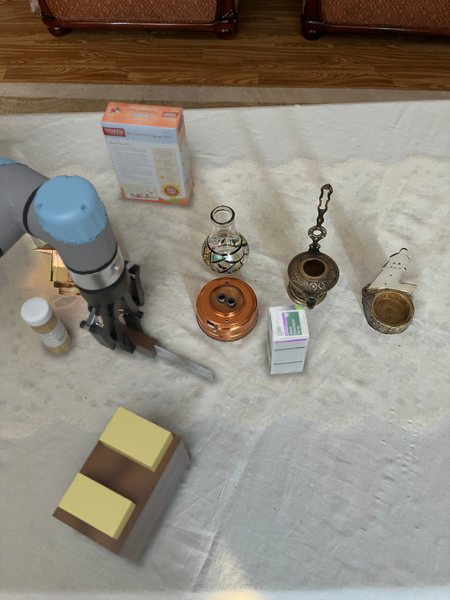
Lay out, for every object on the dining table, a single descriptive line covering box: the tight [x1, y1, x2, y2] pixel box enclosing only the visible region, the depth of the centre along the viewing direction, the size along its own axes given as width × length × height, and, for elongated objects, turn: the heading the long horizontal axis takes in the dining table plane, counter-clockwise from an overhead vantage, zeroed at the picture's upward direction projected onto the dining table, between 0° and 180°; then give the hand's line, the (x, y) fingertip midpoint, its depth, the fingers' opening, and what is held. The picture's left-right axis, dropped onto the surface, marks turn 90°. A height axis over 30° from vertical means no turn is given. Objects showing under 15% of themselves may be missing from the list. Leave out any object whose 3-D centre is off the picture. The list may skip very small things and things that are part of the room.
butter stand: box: [51, 432, 192, 562], centre depth 75 cm, size 10×16×14 cm, turn 153°
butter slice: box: [57, 471, 136, 540], centre depth 66 cm, size 8×4×3 cm, turn 63°
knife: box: [102, 322, 214, 381], centre depth 90 cm, size 21×2×4 cm, turn 63°
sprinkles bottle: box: [20, 296, 73, 355], centre depth 88 cm, size 5×5×14 cm
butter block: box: [98, 405, 173, 472], centre depth 69 cm, size 8×5×3 cm, turn 63°
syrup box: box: [266, 303, 310, 375], centre depth 85 cm, size 6×6×14 cm
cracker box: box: [100, 101, 194, 206], centre depth 102 cm, size 14×6×21 cm, turn 80°
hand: (132, 342), depth 93 cm, fingers open, 3 cm apart
